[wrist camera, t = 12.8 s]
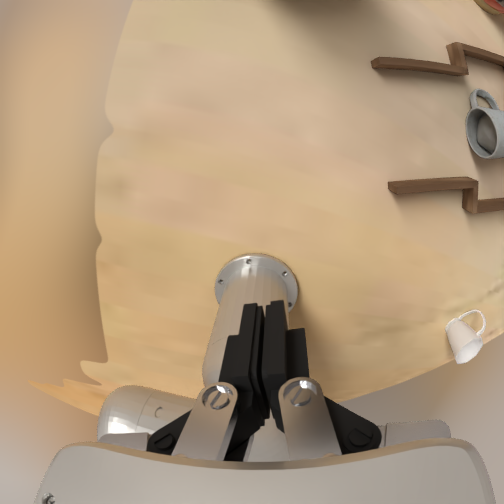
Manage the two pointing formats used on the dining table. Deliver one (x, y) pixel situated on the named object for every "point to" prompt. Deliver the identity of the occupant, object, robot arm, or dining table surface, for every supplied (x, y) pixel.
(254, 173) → the dining table surface
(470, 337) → the cup
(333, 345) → the dining table surface
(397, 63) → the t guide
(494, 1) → the cake
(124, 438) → the robot arm
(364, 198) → the dining table surface
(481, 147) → the ceramic mug
